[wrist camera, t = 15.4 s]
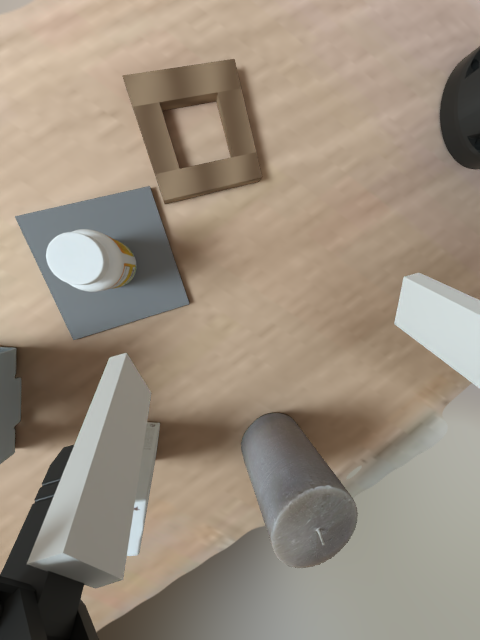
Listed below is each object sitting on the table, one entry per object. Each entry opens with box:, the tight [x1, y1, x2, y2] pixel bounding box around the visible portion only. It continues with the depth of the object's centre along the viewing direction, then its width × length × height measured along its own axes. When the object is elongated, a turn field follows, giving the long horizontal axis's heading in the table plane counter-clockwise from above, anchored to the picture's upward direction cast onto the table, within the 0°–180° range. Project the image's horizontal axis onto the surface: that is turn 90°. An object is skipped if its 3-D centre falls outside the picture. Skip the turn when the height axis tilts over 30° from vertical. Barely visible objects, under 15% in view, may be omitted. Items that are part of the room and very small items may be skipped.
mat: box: [15, 186, 189, 340], centre depth 28 cm, size 14×14×1 cm
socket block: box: [123, 59, 262, 204], centre depth 27 cm, size 12×12×1 cm
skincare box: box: [127, 422, 160, 556], centre depth 27 cm, size 6×4×12 cm
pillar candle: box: [241, 413, 357, 568], centre depth 30 cm, size 10×10×15 cm
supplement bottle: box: [46, 229, 136, 292], centre depth 23 cm, size 5×5×10 cm
